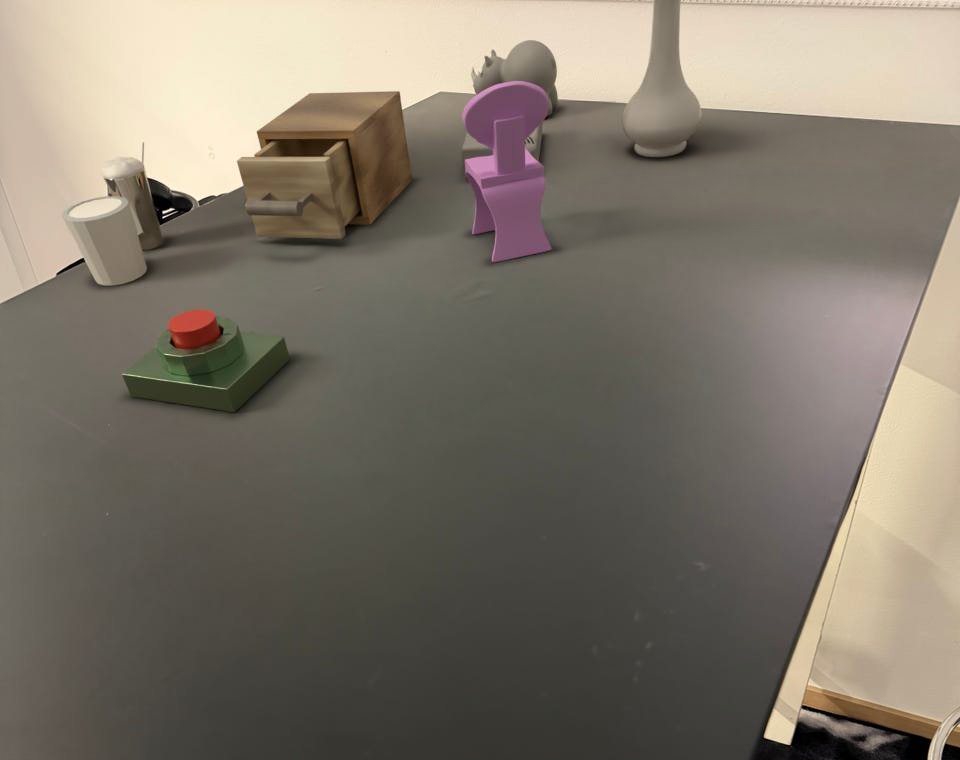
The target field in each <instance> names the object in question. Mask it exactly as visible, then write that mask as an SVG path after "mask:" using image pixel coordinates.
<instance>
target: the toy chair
mask: <svg viewBox="0 0 960 760" xmlns="http://www.w3.org/2000/svg"><path fill="white" fill-rule="evenodd" d="M547 113H548V98H547V94H546V93H545V91H544V90H543V89H542V88H541V87H539V86H537V85H535V84H532V83H529V82H524V81H511V82H506V83H501V84H497V85H494V86H492V87H489V88H487V89H485V90H484V91H482V92H480V93H479V94H475V95H474V96H473V97H472V98H471V99H470V100H469V101H468V102H467V103H466V104H465V106H464V108H463V110H462V114H461V115H462V116H461V117H462V118H461V119H462V122H463V123H462V124H463V126H464V127H465V130H466V133H467V132H468V133H469V134H470V135H471V136H472V137H473V138H474V139H476V141H477V142H479V143H481V144H483V145H485V146H487V147H489V148H490V149H491V150H492V151H493V155H491V156H483V157H475V158H470V159H465V168H466V170H465V172H466V176H465V177H466V179H467V181H468V183H469V185H470V187H471V189H472V193H473V195H474V200H475V201H474V202H475V209H474V210H475V211H474V218H473V219H474V220H473V225H472V229H471V234H472V235H477V234H484V233H488V232H493V231H495V237H494V238H495V239H494V246H493V252H492V256H491V261H492V263H498V262H503V261H508V260H512V259H516V258H521V257H525V256H531V255H534V254H535V255H536V254H539V253H540V254H541V253H546V252H550V251H552V246H551V244H550V242H549V240H548V238H547V236H546V234H545V230H544V228H543V224H542V220H541V219H542V218H541V208H542V202H543V197H544V193H545V188H546V178H545V166H544V165H543V164H542V163H541V162H540V161H539V162H538V161H537V160H536V159H535V158H533V157H532V155H531V154H530V153H529V152H528V151H527V150H526V149H525V140H526V139H527V138H528V137H529V136H530V135H531V134H532V133H533V132H534V130H535V129H536V128H537V127H538V126H539V125H540V124H541V123H542V124H543V122H544V121H545V119H546V117H548V116H547Z"/></svg>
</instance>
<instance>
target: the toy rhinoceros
mask: <svg viewBox="0 0 960 760" xmlns="http://www.w3.org/2000/svg"><path fill="white" fill-rule="evenodd" d="M483 57H484V63H483V64H482V66H481V72H480V71H477V74H476V72H475V69H474V67H472V68H471V72H470V76H471V80H472V83H473V84H472V87H473V90H474V93H475V95H477V94H479V93H480V92H482V91H484V90H485V89H487V88H489V87H492V86H494V85H497V84H501V83H506V82H511V81H524V82H529V83H532V84H535V85H537V86H539V87H541V88H542V89H543V90H544V91H545V93H546V94H547V98H548V113H547V116H546V117H549V116H550V115H552V113H553V108H555V106H557V104H558V102H559V96H558V90H557V87H556V85H555V83H556V80H557V75H558V67H557V62H556V58H555V55H554V53H553V52H552V50H551V49H550V48H549V47H548V46H547V45H545V44H544V43H543V42H542V41H540V40H539V41H538V40H535V39H534V40H533V39H528V40H523V41H521V42H520V43H517V44H516V45H514V47H513V48H511V50H510V51H509V53H508V55H507V56H506V58H502V57H501V56H498V55H497V53H496V51H495V50H494V49H491V51H490V56H488V55H484V56H483Z"/></svg>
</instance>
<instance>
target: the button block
mask: <svg viewBox="0 0 960 760" xmlns="http://www.w3.org/2000/svg"><path fill="white" fill-rule="evenodd" d="M216 319H217V322H218V325H219V328H220V331H221V337H220V338H218V339H217V340H216V341H215V342H212V343H210V344H207V345H205V346H203V347H199V348H192V349H180V348H177V347H176V346H175V344H174V342H173V339H172V336H171V334H170V331H169V328H168V329H166V330H165V331H164V332H162V333H161V334H160V335H158V337H157V340H156V344H155V346H154V347H153V348H152V349H151V350H150V351H148V352H147V353H146V354H144V356H142V357H141V358H140V359H138V360H137V361H136V362H135V363H133V364H132V365H131V366H129V367H128V368H127V369H126V370H125V371H123V372H122V373H121V376H122V378H123V381H124V383H125V385H126V386H125V387H126V388H127V390H128V393H129V395H130V397H132V398H137V399H138V398H140V399H146V400H153V401H157V402H164V403H171V404H178V405H182V406H183V405H185V406H191V407H196V408H204V409H210V410H217V411H223V412H228V413H229V412H230V413H236V412H237V411H238V410H239V409H241V407H242V406H243V405H245V403H246V402H248V401H249V399H251V397H252V396H254V395H255V394H256V393H257V392H258V391H259V390H260V389H261V388H262V387H263V386H264V385H265V384H266V383H268V381H269V380H270V379H272V377H274V375H276V374H277V373H278V372H279V371H280V370H281V369H282V368H283V367H284V366H285V365H286V364H287V363H288V362H289V361H291V358H290V353H289V351H288V346H287V343H286V338H285V337H284V336H281V335H274V334H273V335H272V334H264V333H256V332H246V331H240V328H239V325H238V324H237V323H236V322H235V321H234V320H232V319H231V318H229V317H223V316H216Z"/></svg>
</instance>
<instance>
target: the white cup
mask: <svg viewBox="0 0 960 760" xmlns="http://www.w3.org/2000/svg"><path fill="white" fill-rule="evenodd" d="M61 218H62V219H63V221H64V224H65V226H66V227H67V230H68V231H69V233H70V235H71V237H72V239H73V240H74V242H75V244H76V246H77V249H78V250H79V252H80V254H81V256H82V258H83V259H84V262H85V264H86V265H87V268H88V269H89V271H90V273H91V275H92V278H93V279H94V281H95V282H96V283H97V285H101V286H118V285H125V284H127V283H130V282H133V281H135V280H137V279H139V278H141V277H142V276H143V275H144V274H146V273H147V270H148V267H147V263H146V258H145V255H144V252H143V250H142V248H141V245H140V241H139V237H138V234H137V230H136V227H135V223H134V219H133V216H132V212H131V209H130V205H129V201H128V200H127V199H126V198H123V197H119V196H112V195H107V196H106V195H105V196H100V197H94V198H90V199H85V200H83V201H80V202H78V203H76V204H73V205H71V206H70V207H68V208H67V209H65V210H64V211H63V213H62V214H61Z"/></svg>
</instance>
